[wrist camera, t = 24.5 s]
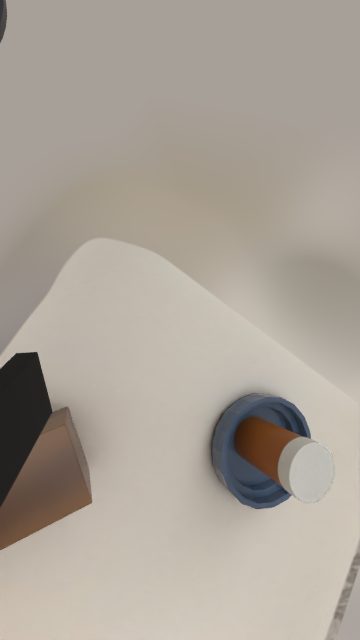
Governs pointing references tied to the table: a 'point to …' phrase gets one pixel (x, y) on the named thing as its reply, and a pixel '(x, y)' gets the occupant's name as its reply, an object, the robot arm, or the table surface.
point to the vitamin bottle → (286, 458)
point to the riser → (47, 482)
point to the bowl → (235, 469)
